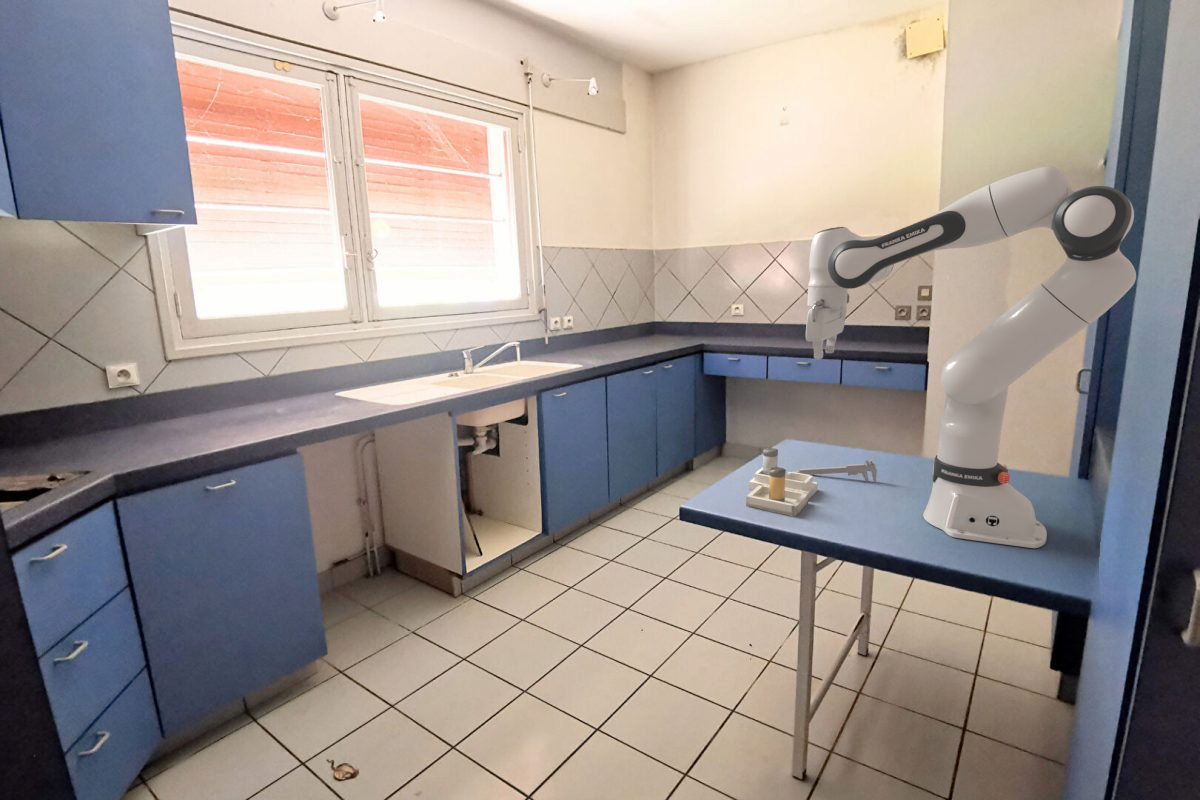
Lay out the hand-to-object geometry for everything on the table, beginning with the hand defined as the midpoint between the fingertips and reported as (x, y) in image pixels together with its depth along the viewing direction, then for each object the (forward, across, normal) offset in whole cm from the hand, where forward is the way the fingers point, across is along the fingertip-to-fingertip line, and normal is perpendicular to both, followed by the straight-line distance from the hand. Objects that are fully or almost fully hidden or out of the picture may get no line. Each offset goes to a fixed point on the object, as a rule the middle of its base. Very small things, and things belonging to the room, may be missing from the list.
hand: (824, 355), depth 146 cm
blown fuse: (+33, -16, +5) cm, 37 cm away
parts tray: (+34, -16, +5) cm, 38 cm away
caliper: (+35, +9, -2) cm, 36 cm away
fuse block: (+34, -6, +7) cm, 35 cm away
